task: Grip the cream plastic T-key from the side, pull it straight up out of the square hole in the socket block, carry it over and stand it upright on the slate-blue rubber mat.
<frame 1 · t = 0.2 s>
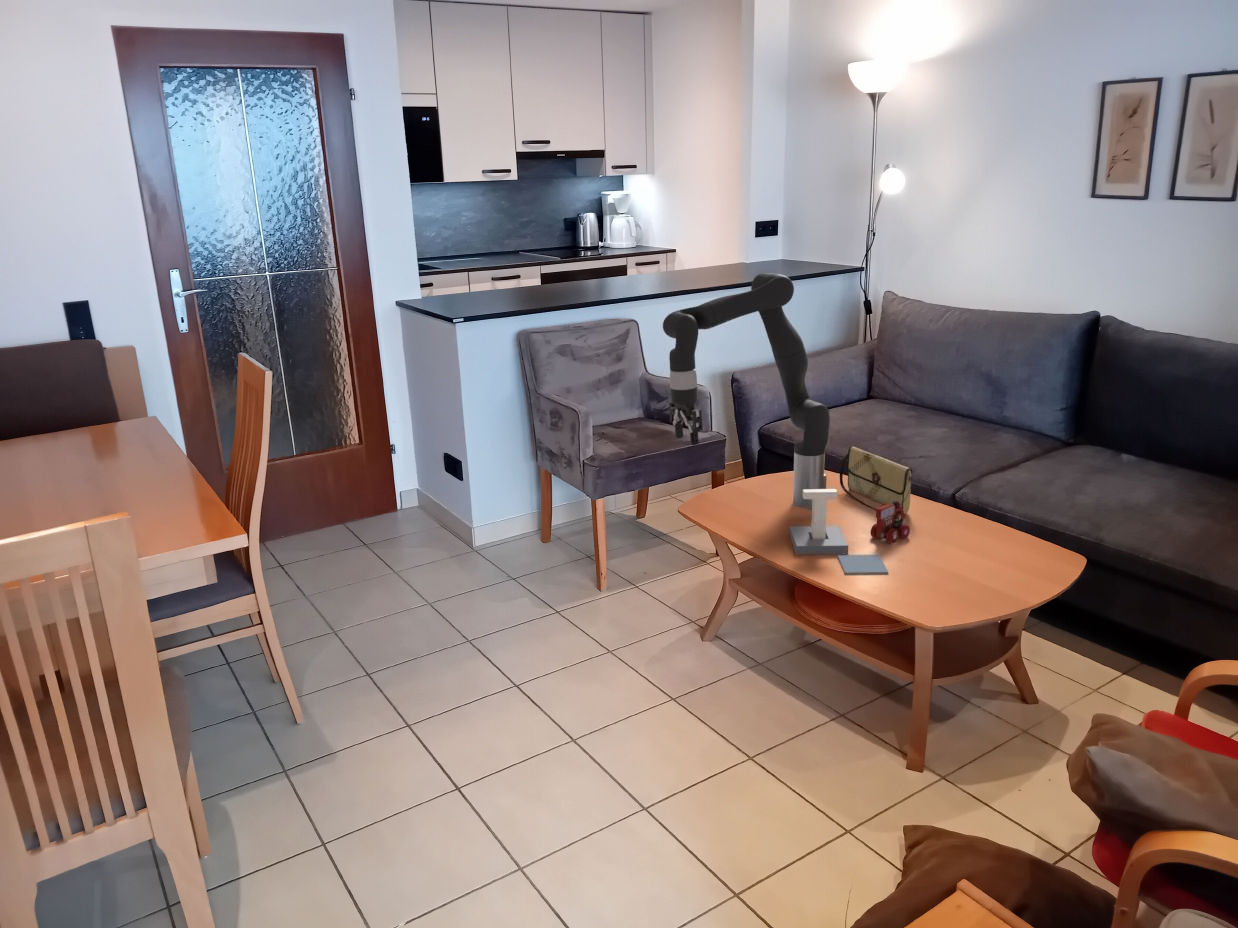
hand: (686, 441, 248), 29 cm above the table, tool pointing down, fingers open, 8 cm apart
t key: (819, 517, 245), in the socket block
toy fire truck: (889, 538, 250), on the table
socket block: (818, 543, 247), on the table
clutch purse: (872, 503, 275), on the table
mat: (862, 564, 233), on the table
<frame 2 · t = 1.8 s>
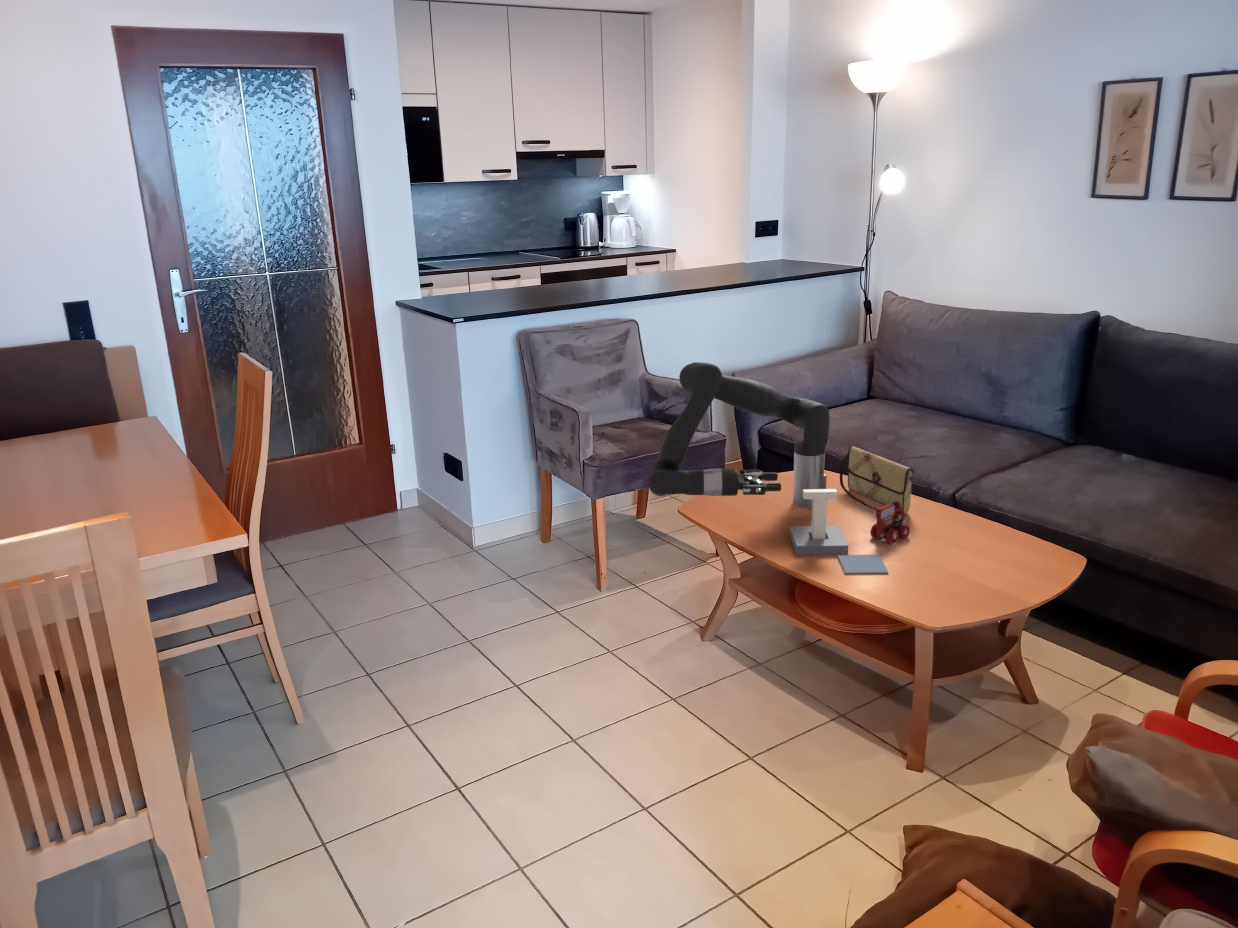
hand: (779, 481, 242), 19 cm above the table, tool horizontal, fingers open, 8 cm apart
nothing on the table moved.
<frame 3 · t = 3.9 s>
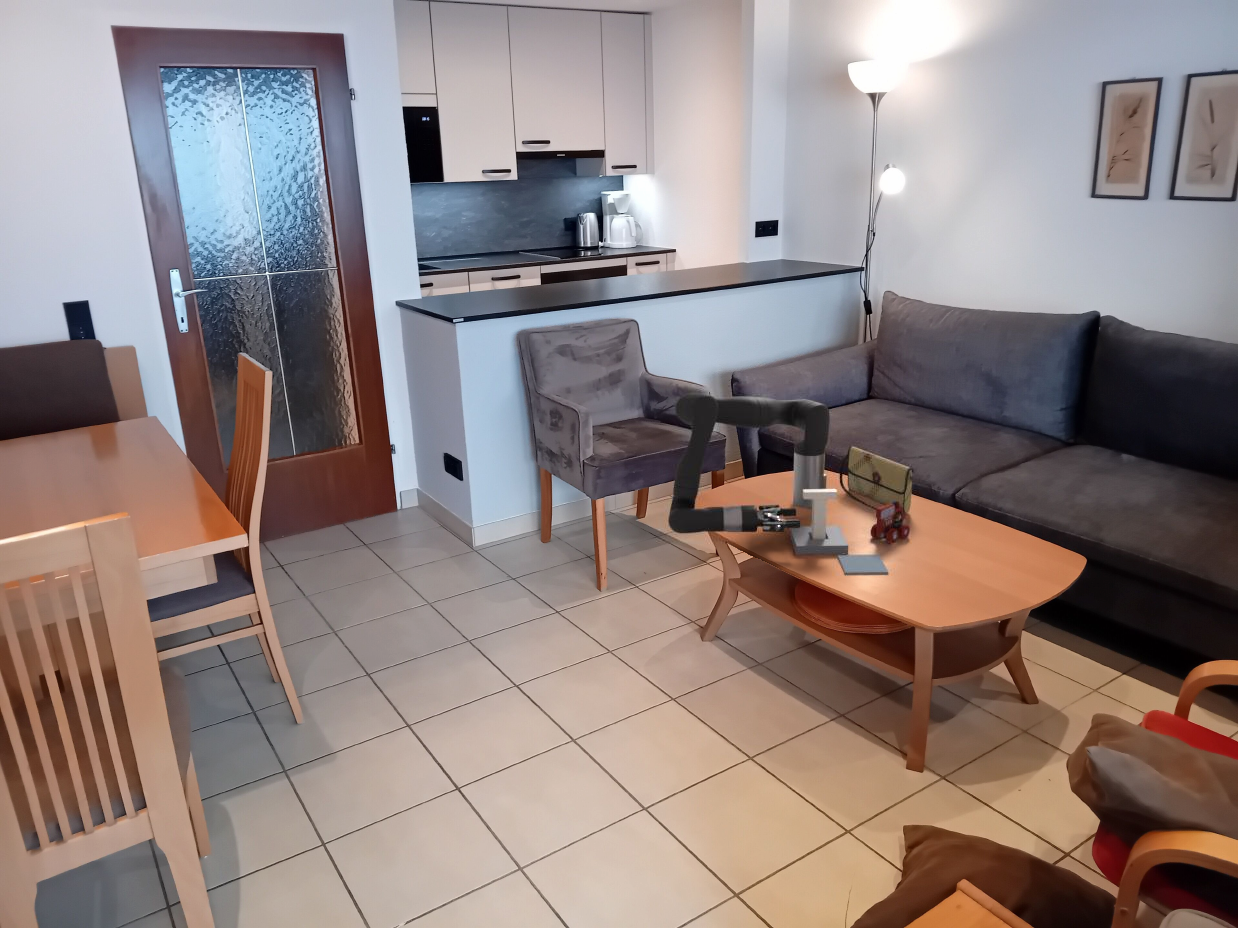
hand: (798, 517, 245), 8 cm above the table, tool horizontal, fingers open, 8 cm apart
nothing on the table moved.
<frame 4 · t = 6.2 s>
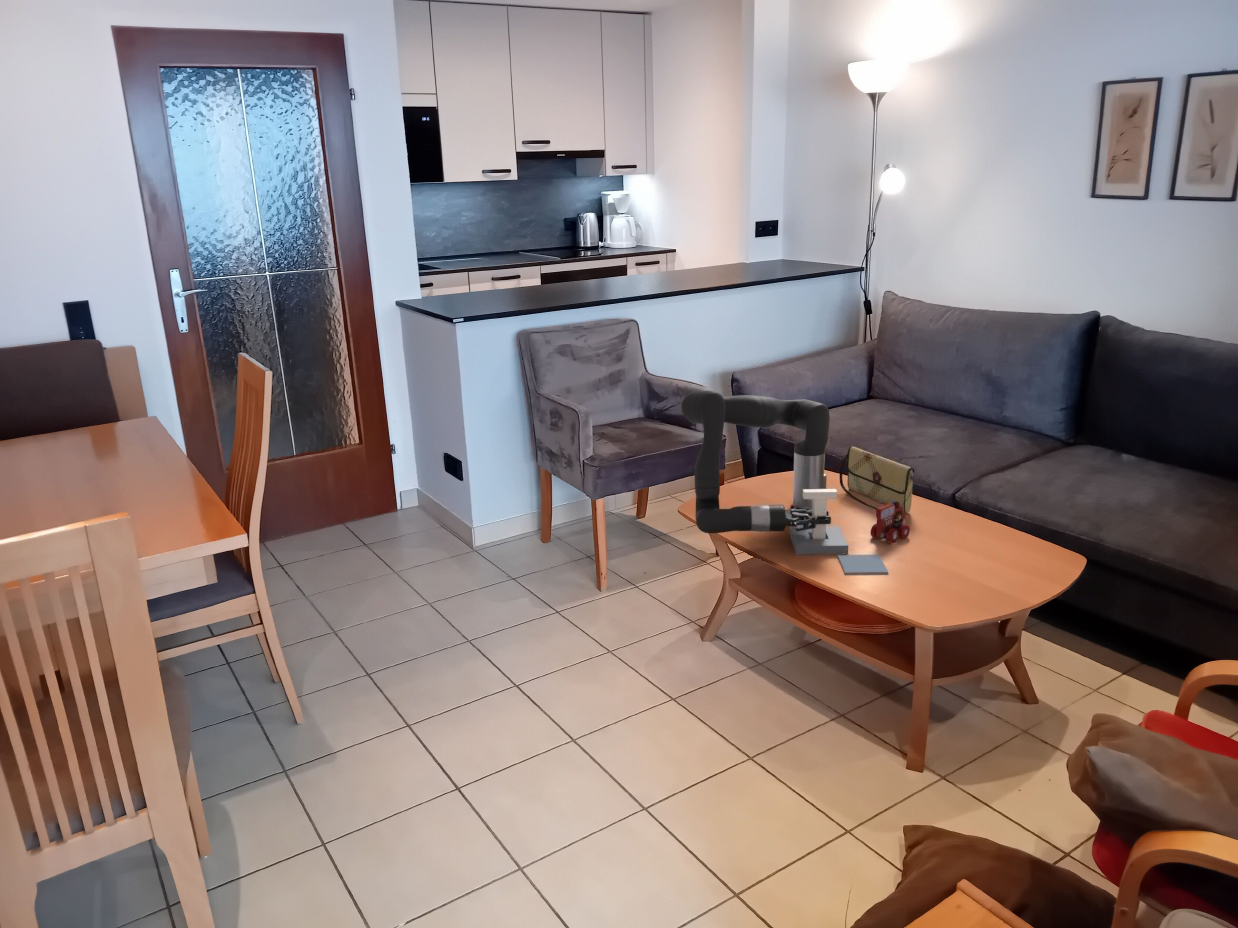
hand: (829, 517, 245), 8 cm above the table, tool horizontal, fingers closed on t key, 3 cm apart
t key: (818, 517, 245), in the socket block, touching gripper
everything else where it was.
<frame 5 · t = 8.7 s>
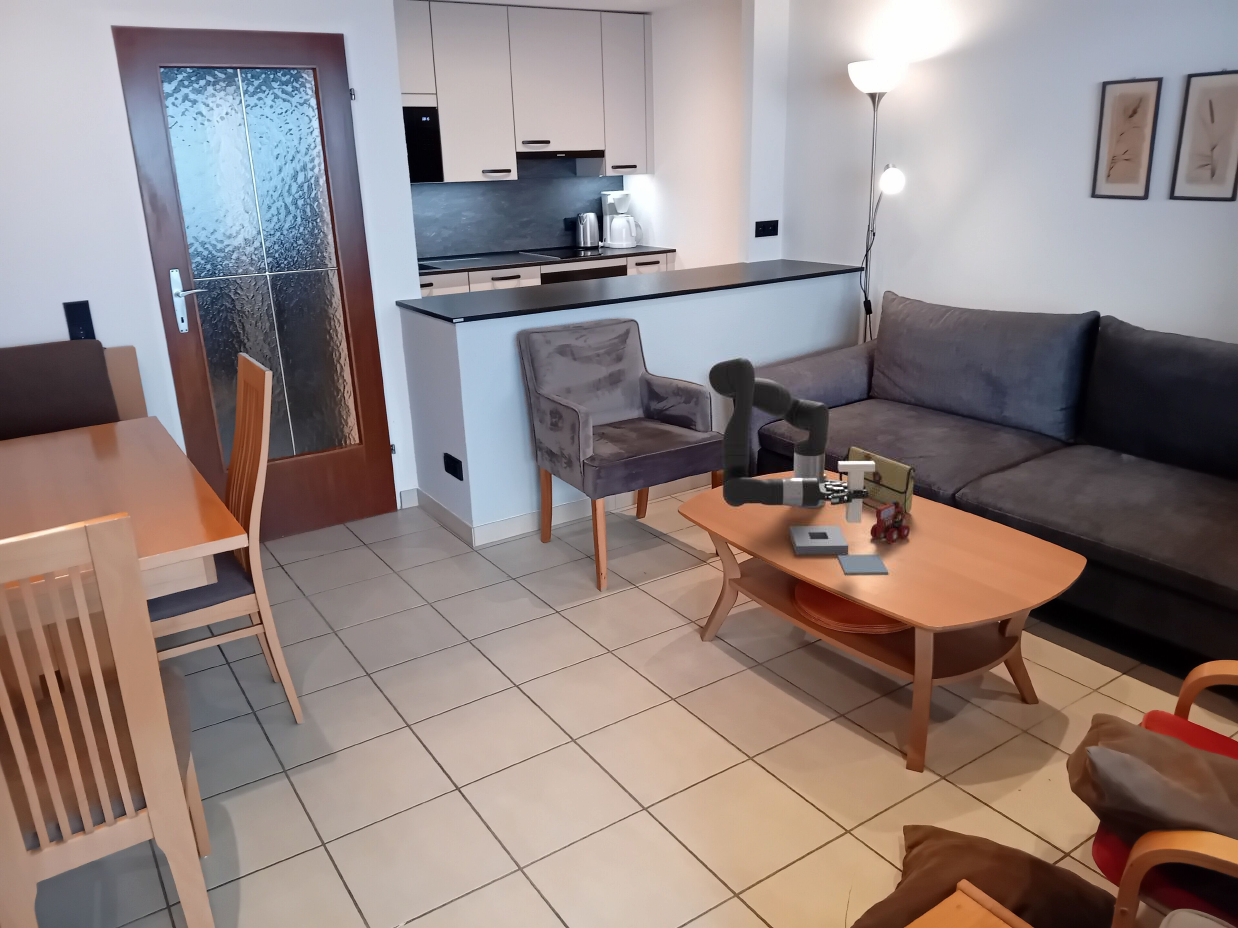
hand: (866, 491, 229), 20 cm above the table, tool horizontal, fingers closed on t key, 3 cm apart
t key: (854, 491, 229), point 20 cm above the table, touching gripper
everything else where it was.
when the fingers open (10 cm above the table, at t = 11.2 s): t key drops 1 cm, resting on mat.
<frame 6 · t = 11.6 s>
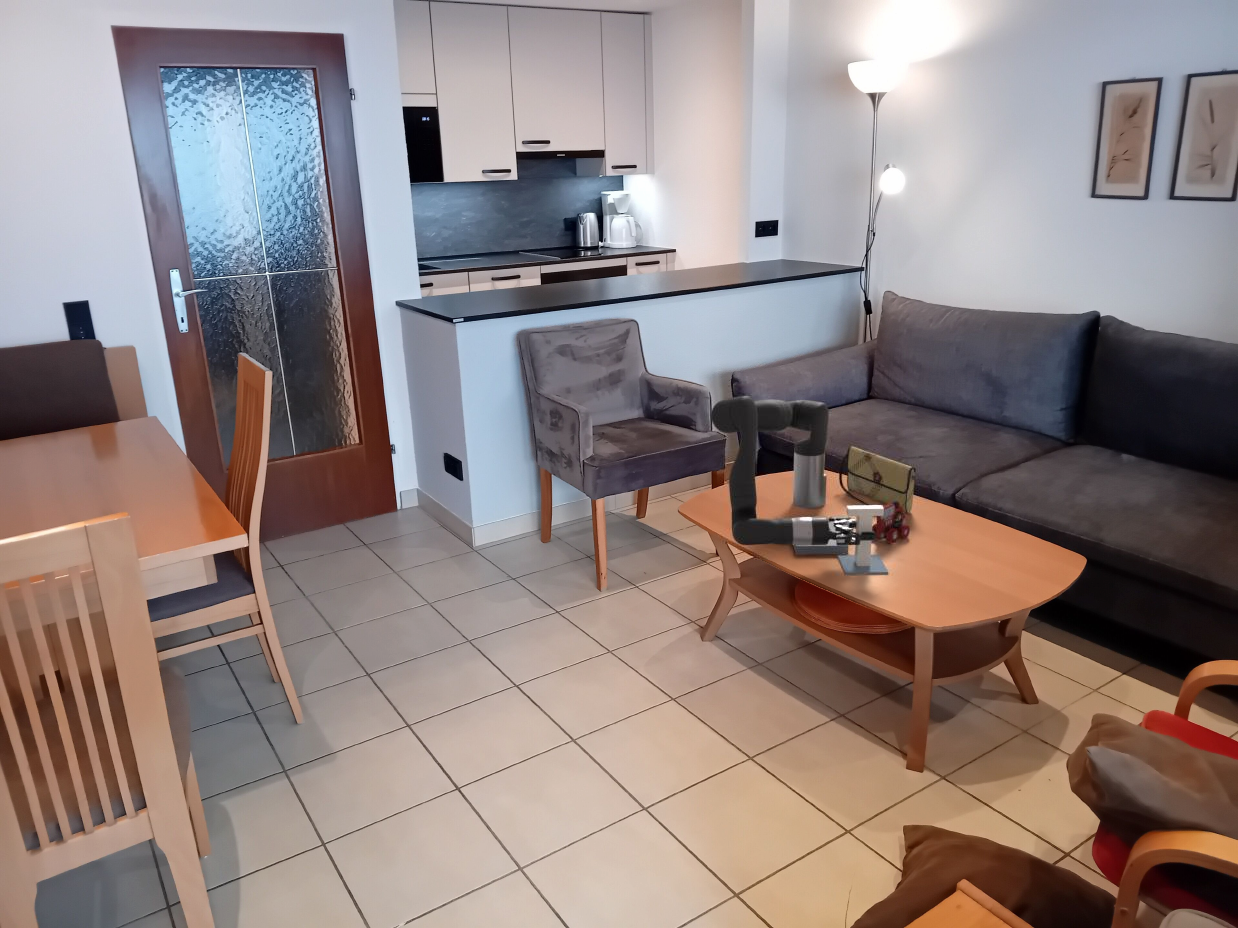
hand: (872, 530, 230), 10 cm above the table, tool horizontal, fingers open, 7 cm apart
t key: (863, 535, 231), on the mat
everything else where it was.
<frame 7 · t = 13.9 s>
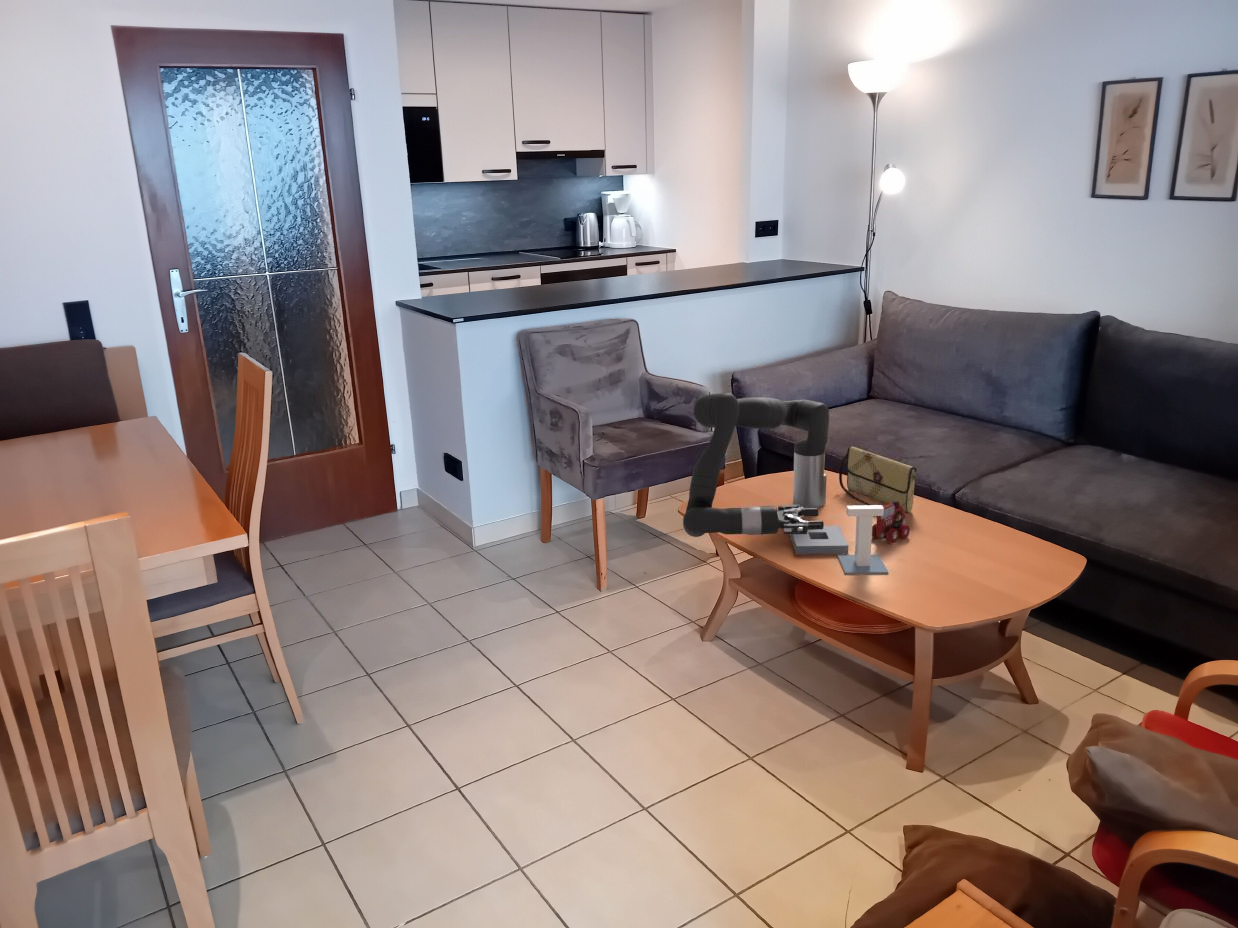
hand: (820, 518, 231), 13 cm above the table, tool horizontal, fingers open, 8 cm apart
nothing on the table moved.
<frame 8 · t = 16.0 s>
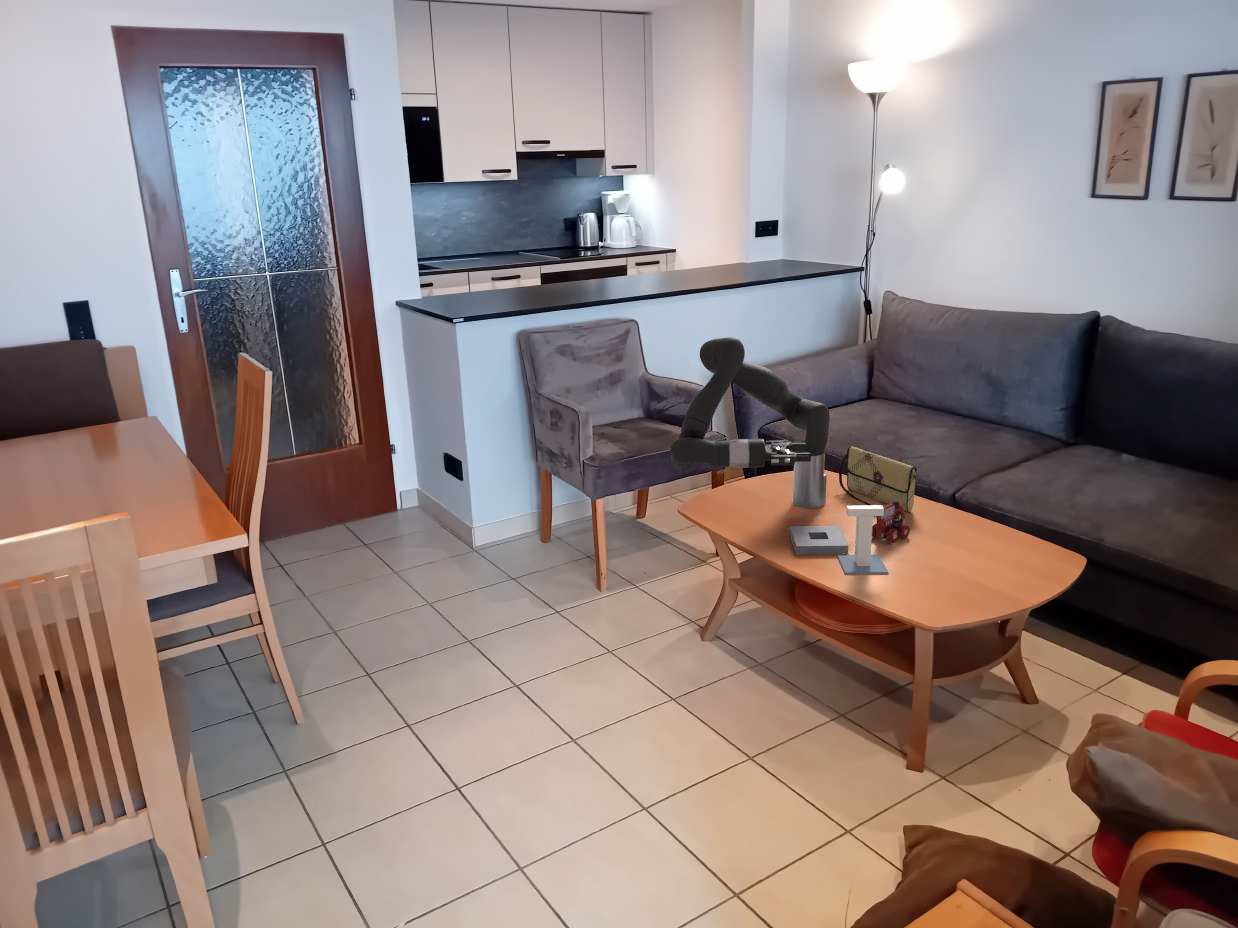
hand: (808, 452, 230), 30 cm above the table, tool horizontal, fingers open, 8 cm apart
at the end: t key inside the target area on the mat (0.1 cm from its centre), point 8.5 cm above the mat's base; t key tilted 0°; the gripper is holding nothing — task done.
